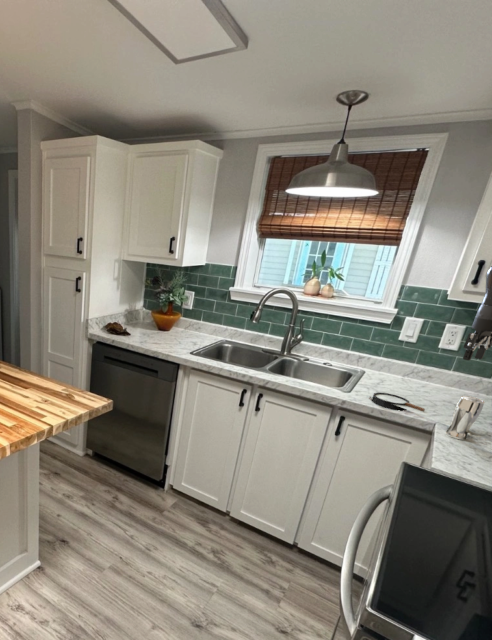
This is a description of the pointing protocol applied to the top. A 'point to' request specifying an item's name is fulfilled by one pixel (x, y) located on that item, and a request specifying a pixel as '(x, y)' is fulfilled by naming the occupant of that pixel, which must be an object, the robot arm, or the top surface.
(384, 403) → the frying pan
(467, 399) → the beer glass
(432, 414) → the top surface
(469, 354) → the robot arm
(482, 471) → the top surface
